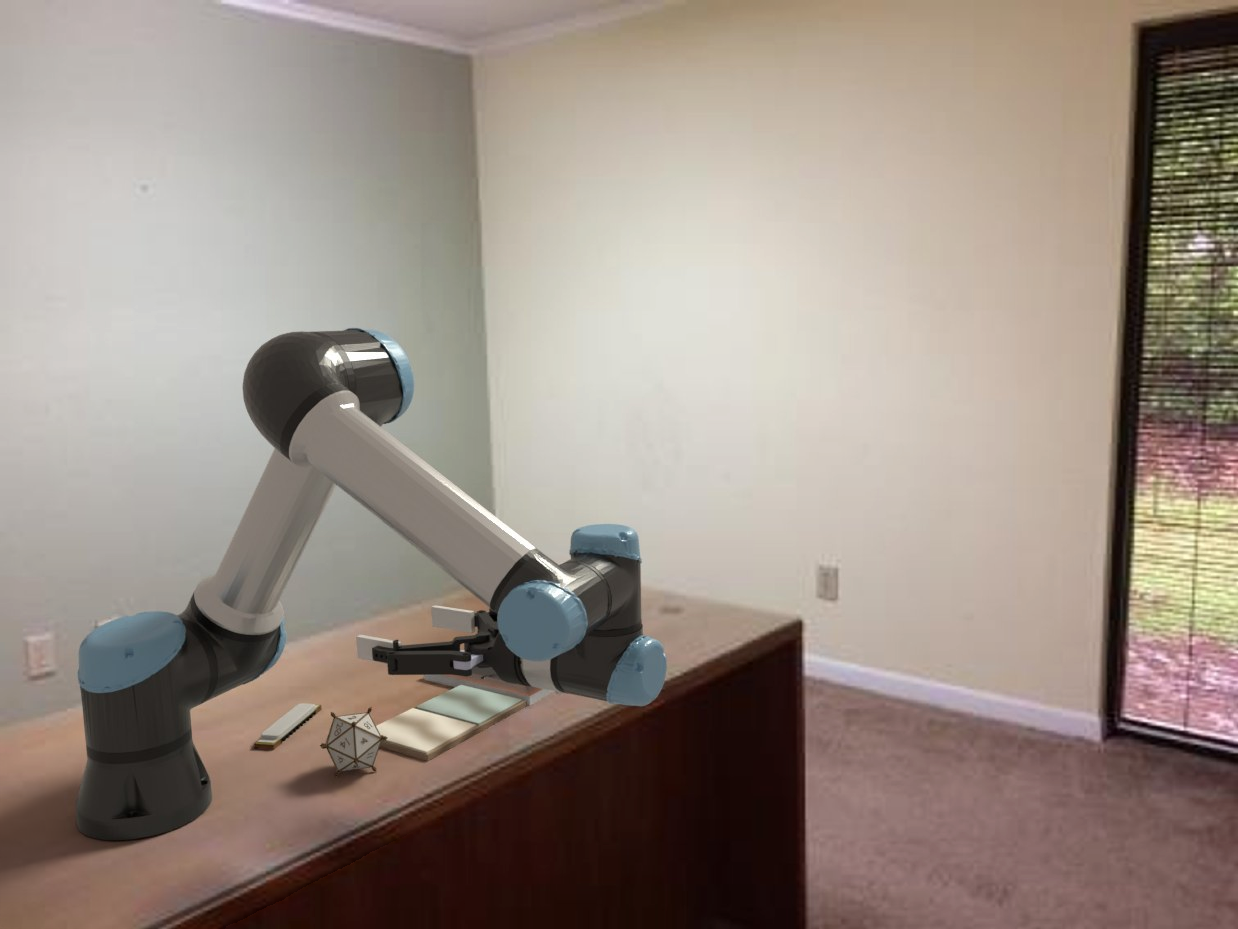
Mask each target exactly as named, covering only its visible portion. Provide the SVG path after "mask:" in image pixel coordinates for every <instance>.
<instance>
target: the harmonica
mask: <svg viewBox="0 0 1238 929" xmlns="http://www.w3.org/2000/svg"><path fill="white" fill-rule="evenodd" d="M321 711H322V704H318V703H317V704H315V703H305V702H304V703H303V702H300V703H298V704H296V705H295V706H293V707H292V708H291V709H290V710H288V711H287V712H286V713H285V714H284V715H282V716H281V717H280V718H278V719H277V720H276V721H275V722H274V723H272V724H271V725H270V726H268V727H267V728H265V730H264V731H263V732H261V734H260V737H261V738H259V739H258V740H257V741H256V742H254V746H253V749H254V750H264V751H265V750H267V751H274V750H276V749H277V748H279V747H280V746H281V745H282V744H283V742H286V739H289V738H290V736H292V735H293V734H294V733H296V732H297V730H299V729H300V727H303V726H304V724H306V723H307V721H310V719H312V718H313V717H314V716H316V715H317V714H319V712H321Z"/></svg>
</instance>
